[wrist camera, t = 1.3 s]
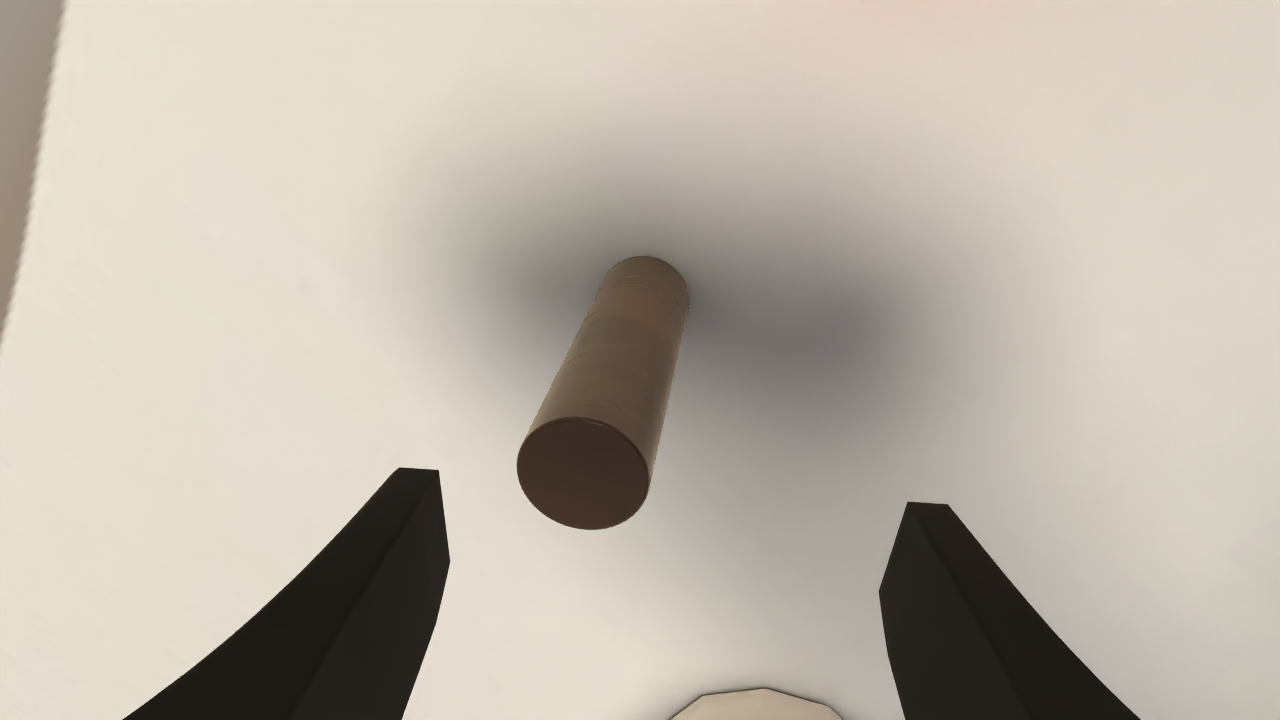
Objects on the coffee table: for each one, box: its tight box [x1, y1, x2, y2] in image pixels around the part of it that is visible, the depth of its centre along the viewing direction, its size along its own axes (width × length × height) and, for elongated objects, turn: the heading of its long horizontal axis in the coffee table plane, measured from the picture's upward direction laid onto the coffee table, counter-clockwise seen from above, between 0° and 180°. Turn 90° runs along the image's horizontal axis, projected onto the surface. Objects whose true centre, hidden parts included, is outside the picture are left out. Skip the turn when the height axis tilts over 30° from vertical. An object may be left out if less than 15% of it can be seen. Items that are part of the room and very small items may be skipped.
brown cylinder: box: [517, 257, 689, 530], centre depth 19 cm, size 3×3×9 cm
